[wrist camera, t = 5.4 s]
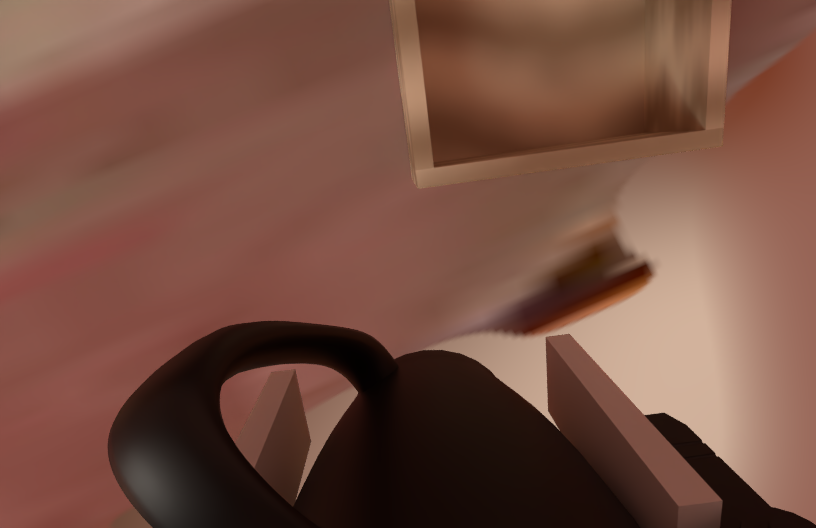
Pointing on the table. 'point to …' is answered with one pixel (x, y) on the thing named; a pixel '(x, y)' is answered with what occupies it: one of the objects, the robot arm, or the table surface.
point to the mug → (354, 444)
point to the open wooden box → (556, 83)
